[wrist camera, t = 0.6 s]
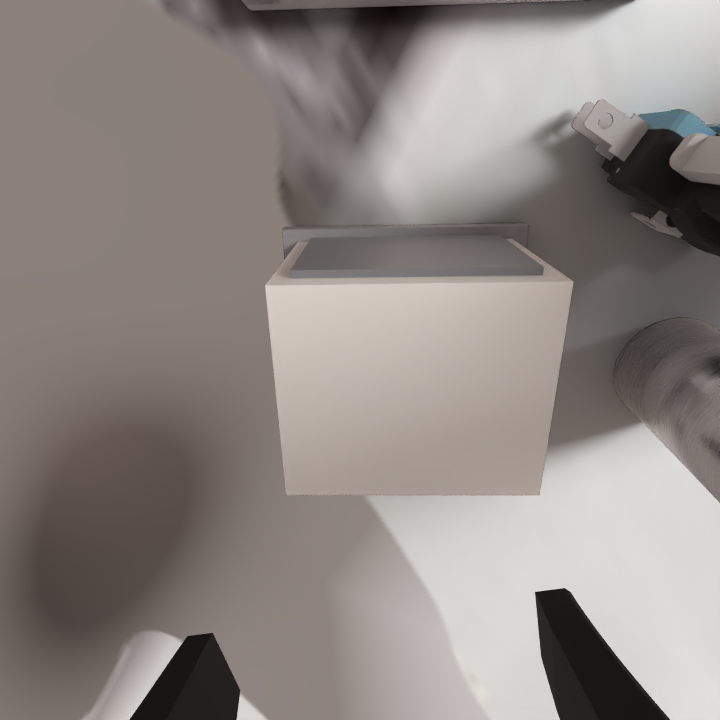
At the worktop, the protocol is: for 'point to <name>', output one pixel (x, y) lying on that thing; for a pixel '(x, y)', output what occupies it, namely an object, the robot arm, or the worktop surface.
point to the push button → (662, 167)
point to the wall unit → (415, 359)
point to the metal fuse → (677, 391)
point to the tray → (362, 3)
